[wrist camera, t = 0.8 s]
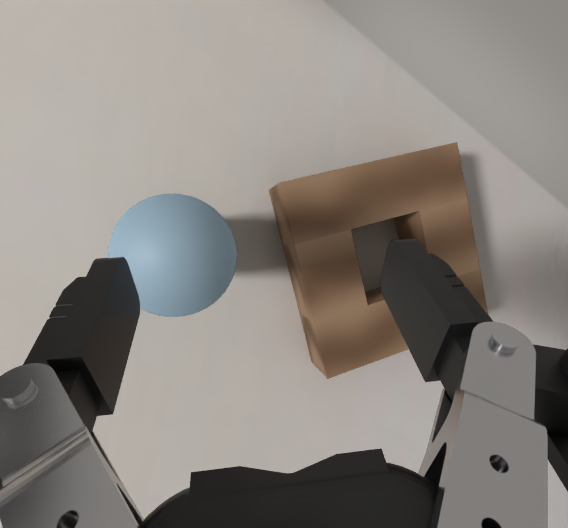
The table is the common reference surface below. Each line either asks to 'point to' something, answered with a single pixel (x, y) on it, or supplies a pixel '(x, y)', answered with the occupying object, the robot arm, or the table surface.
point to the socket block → (342, 255)
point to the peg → (175, 253)
